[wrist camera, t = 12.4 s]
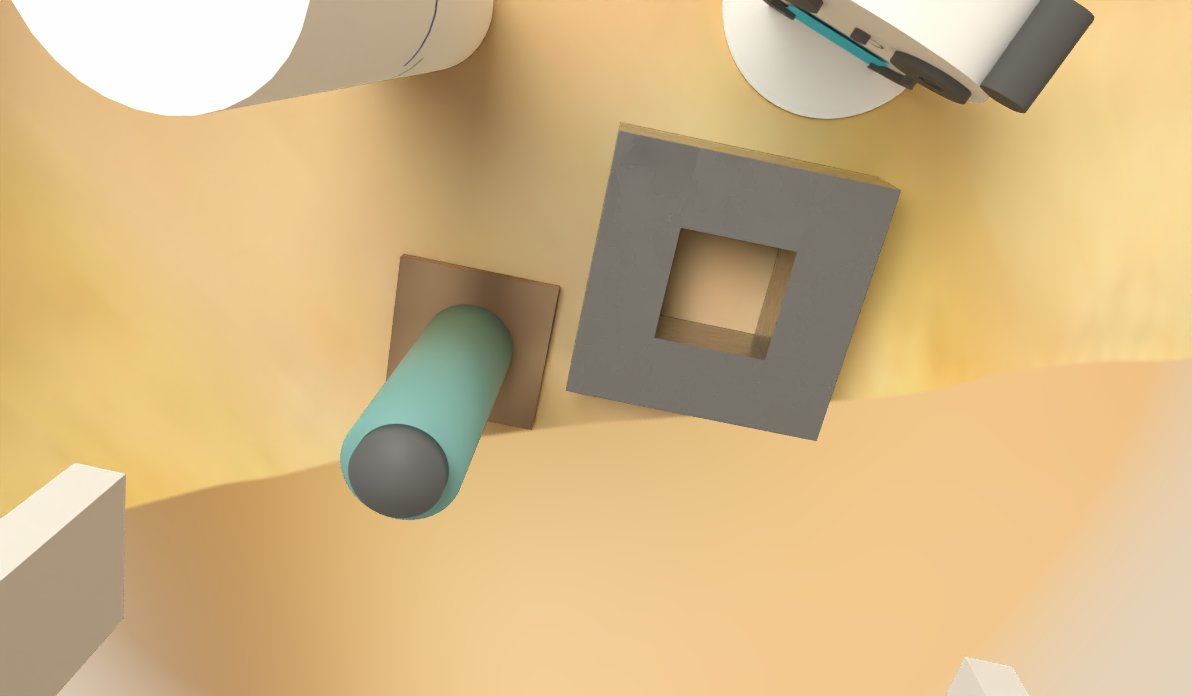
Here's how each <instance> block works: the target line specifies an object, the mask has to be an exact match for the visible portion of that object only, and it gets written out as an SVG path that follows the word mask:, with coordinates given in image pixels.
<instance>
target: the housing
mask: <svg viewBox="0 0 1192 696" xmlns="http://www.w3.org/2000/svg"><path fill="white" fill-rule="evenodd" d="M900 191H901V190H900V189H898V188H896V187H895V186H893V185H891V184H889V183H888V182H886V181H884V180H882V179H881V178H879V177H876V176H872V175H867V174H862V173H857V172H853V171H848V170H843V169H839V168H834V167H829V166H824V165H820V164H815V163H810V162H806V161H801V160H796V159H791V158H787V157H782V156H777V155H773V154H768V153H763V152H758V151H754V150H749V149H744V148H739V147H735V146H730V145H725V144H721V143H716V142H711V141H706V140H702V139H697V138H692V137H688V136H683V135H678V134H673V133H669V132H664V131H659V130H655V129H650V128H645V127H640V126H636V125H631V124H626V123H621V122H620V126H619V131H618V136H617V141H616V146H615V151H614V156H613V160H612V165H611V170H610V175H609V180H608V185H607V190H606V195H605V199H604V204H603V209H602V214H601V219H600V224H599V229H598V234H597V239H596V243H595V248H594V253H593V258H592V263H591V268H590V273H589V278H588V282H587V287H586V292H585V297H584V302H583V307H582V312H581V317H580V322H579V326H578V331H577V336H576V341H575V346H574V351H573V356H572V361H571V366H570V371H569V376H568V381H567V387H566V391H570V392H575V393H579V394H584V395H589V396H594V397H599V398H604V399H609V400H614V401H619V402H624V403H629V404H634V405H639V406H644V407H649V408H654V409H659V410H664V411H669V412H674V413H679V414H684V415H689V416H694V417H699V418H704V419H709V420H714V421H719V422H724V423H729V424H734V425H739V426H744V427H749V428H754V429H759V430H764V431H769V432H774V433H779V434H784V435H789V436H794V437H799V438H804V439H809V440H814V441H817V437H818V434H819V432H820V429H821V426H822V423H823V420H824V417H825V414H826V411H827V408H828V405H829V402H830V399H831V396H832V393H833V390H834V387H835V384H836V381H837V378H838V375H839V372H840V369H841V366H842V363H843V361H844V358H845V355H846V352H847V349H848V346H849V343H850V340H851V337H852V334H853V331H854V328H855V325H856V322H857V319H858V316H859V313H860V310H861V307H862V304H863V301H864V298H865V295H866V292H867V289H868V286H869V283H870V280H871V277H872V274H873V271H874V268H875V265H876V263H877V260H878V257H879V254H880V251H881V248H882V245H883V242H884V239H885V236H886V233H887V230H888V227H889V224H890V221H891V218H892V215H893V212H894V209H895V206H896V203H897V200H898V197H899V194H900ZM681 228H684V229H689V230H694V231H699V232H704V233H708V234H713V235H718V236H723V237H728V238H732V239H737V240H742V241H747V242H752V243H756V244H761V245H766V246H771V247H776V248H780V249H779V252H778V256H777V259H776V262H775V266H774V269H773V273H772V276H771V280H770V283H769V287H768V290H767V294H766V297H765V300H764V304H763V307H762V311H761V314H760V318H759V321H758V325H757V328H756V331H755V334H750V333H745V332H740V331H735V330H730V329H725V328H720V327H716V326H711V325H706V324H701V323H696V322H691V321H686V320H681V319H677V318H672V317H667V316H662V315H660V312H661V308H662V303H663V299H664V295H665V291H666V287H667V283H668V279H669V275H670V270H671V266H672V262H673V258H674V254H675V250H676V246H677V242H678V237H679V233H680V229H681Z"/></svg>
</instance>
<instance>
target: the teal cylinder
mask: <svg viewBox="0 0 1192 696" xmlns="http://www.w3.org/2000/svg"><path fill="white" fill-rule="evenodd" d="M512 355H513V344H512V339H511V336H510V333H509V331H508V329H507V328H506V326H505V325H504V323H503V322H502V321H501V320H500V319H499V318H498V317H497V316H496V315H495V314H493V313H492V312H490V311H488V310H487V309H484V308H482V307H479V306H475V305H468V304H462V305H455V306H451V307H449V308H446V309H444V310H442V311H441V312H439V313H438V314H437V315H436V316H435V317H434V318H433V319H432V320H431V322H430V323H429V324H428V326H427V327H426V328H425V330H424V331H423V332H422V334H421V335H420V336H419V338H418V339H417V341H416V342H415V343H414V345H413V346H412V347H411V349H410V350H409V351H408V353H407V354H406V355H405V357H404V358H403V360H402V361H401V362H400V364H399V365H398V366H397V368H396V369H395V370H394V372H393V373H392V374H391V376H390V377H389V378H388V380H387V381H386V383H385V384H384V385H383V387H382V388H381V389H380V391H379V392H378V393H377V395H376V396H375V397H374V399H373V400H372V402H371V403H370V404H369V406H368V407H367V408H366V410H365V411H364V412H363V414H362V415H361V416H360V418H359V419H358V421H357V422H356V423H355V425H354V426H353V427H352V429H351V430H350V431H349V433H348V434H347V436H346V438H345V440H344V442H343V445H342V449H341V455H340V462H341V469H342V473H343V476H344V479H345V481H346V483H347V485H348V487H349V488H350V490H351V491H352V492H353V494H354V495H355V496H356V497H357V498H358V499H359V500H360V501H361V502H362V503H364V504H365V505H366V506H367V507H369V508H370V509H372V510H374V511H376V512H378V513H380V514H382V515H385V516H387V517H392V518H395V519H402V520H415V519H421V518H426V517H429V516H432V515H434V514H436V513H438V512H440V511H442V510H443V509H445V508H446V507H447V506H448V505H449V504H450V503H451V502H452V501H453V499H454V498H455V497H456V495H457V494H458V492H459V490H460V487H461V484H462V482H463V480H464V477H465V474H466V472H467V469H468V467H469V465H470V462H471V460H472V457H473V455H474V452H475V450H476V447H477V445H478V442H479V440H480V437H481V435H482V432H483V430H484V427H485V425H486V422H487V420H488V417H489V415H490V412H491V410H492V407H493V405H494V403H495V400H496V398H497V395H498V393H499V390H500V388H501V385H502V383H503V380H504V378H505V375H506V373H507V370H508V368H509V365H510V363H511V360H512Z"/></svg>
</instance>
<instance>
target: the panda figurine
mask: <svg viewBox="0 0 1192 696" xmlns="http://www.w3.org/2000/svg"><path fill="white" fill-rule="evenodd" d="M722 19H723V27H724V33H725V37H726V40H727V44H728V47H729V50H730V52H731V55H732V57H733V59H734V61H735V63H736V65H737V67H738V69H739V70H740V72H741V73H742V75H743V76H744V78H745V79H746V80H747V81H748V82H749V84H750V85H751V86H752V87H753V88H754V89H755V90H756V91H757V92H758V93H759V94H761V95H762V96H763V97H764V98H766V99H767V100H768V101H770V102H772V103H773V104H775V105H776V106H778V107H780V108H782V109H784V110H787V111H789V112H792V113H794V114H798V115H801V116H806V117H811V118H821V119H835V118H843V117H849V116H854V115H858V114H861V113H864V112H867V111H870V110H872V109H874V108H877V107H879V106H881V105H883V104H884V103H886V102H888V101H890V100H891V99H893V98H894V97H896V96H897V95H899V94H900V93H901V92H903V91H904V90H905V89H906V88H908V89H913V87H914V86H915V84H916V83H917V82H918V83H919V84H921V85H923V86H924V87H926V88H928V89H930V90H931V91H933V92H935V93H937V94H939V95H941V96H943V97H945V98H947V99H949V100H951V101H954V102H956V103H959V104H965V103H966V102H967V100H968V101H972V102H984V101H986V100H987V99H988V97H989V96H990V97H991V98H993V99H994V100H996V101H997V102H999V103H1000V104H1002V105H1004V106H1006V107H1008V108H1009V109H1012V110H1014V111H1016V112H1020V113H1026V111H1027V110H1028V109H1029V107H1030V106H1031V105H1032V103H1033V102H1034V100H1035V99H1036V98H1037V96H1038V95H1039V94H1040V92H1041V91H1042V90H1043V88H1044V87H1045V86H1046V84H1047V83H1048V81H1049V80H1050V79H1051V77H1052V76H1053V75H1054V73H1055V72H1056V71H1057V69H1058V68H1059V67H1060V65H1061V64H1062V62H1063V61H1064V60H1065V58H1066V57H1067V56H1068V54H1069V53H1070V52H1071V50H1072V49H1073V48H1074V46H1075V45H1076V43H1077V42H1078V41H1079V39H1080V38H1081V37H1082V35H1083V34H1084V33H1085V31H1086V30H1087V28H1088V27H1089V26H1090V24H1091V23H1092V22H1093V20H1094V16H1093V14H1092V13H1091V12H1090V11H1088V10H1087V9H1086V8H1084V7H1083V6H1082V5H1080V4H1078V3H1077V2H1075V1H1074V0H722Z"/></svg>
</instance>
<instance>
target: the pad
mask: <svg viewBox="0 0 1192 696" xmlns="http://www.w3.org/2000/svg"><path fill="white" fill-rule="evenodd" d="M559 288H560V286H557V285H552V284H547V283H542V282H538V281H533V280H528V279H523V278H518V277H513V276H508V275H503V274H499V273H494V272H489V271H484V270H479V269H474V268H469V267H464V266H459V265H455V264H450V263H445V262H440V261H435V260H430V259H425V258H420V257H416V256H411V255H406V254H403V255H402V256H401V257H400V265H399V274H398V283H397V291H396V300H395V308H394V317H393V326H392V334H391V343H390V351H389V360H388V369H387V377H386V381H387V380H388V378H389V377H390V376H391V374H392V373H393V372H394V370H395V369H396V368H397V366H398V365H399V364H400V362H401V361H402V360H403V358H404V357H405V355H406V354H407V353H408V351H409V350H410V349H411V347H412V346H413V345H414V343H415V342H416V341H417V339H418V338H419V336H420V335H421V334H422V332H423V331H424V330H425V328H426V327H427V326H428V324H429V323H430V322H431V320H432V319H433V318H434V317H435V316H436V315H437V314H438V313H439V312H441V311H442V310H444V309H446V308H449V307H451V306H455V305H462V304H468V305H475V306H479V307H482V308H484V309H487V310H488V311H490V312H492V313H493V314H495V315H496V316H497V317H498V318H499V319H500V320H501V321H502V322H503V323H504V325H505V326H506V328H507V329H508V331H509V333H510V336H511V339H512V344H513V355H512V360H511V363H510V365H509V368H508V370H507V373H506V375H505V378H504V380H503V383H502V385H501V388H500V390H499V393H498V395H497V398H496V400H495V403H494V405H493V407H492V410H491V412H490V415H489V417H488V420H487V421H490V422H495V423H500V424H505V425H510V426H516V427H521V428H526V429H531V430H532V427H533V423H534V418H535V412H536V407H537V402H538V397H539V392H540V386H541V381H542V376H543V371H544V366H545V360H546V355H547V350H548V345H549V340H550V334H551V329H552V324H553V319H554V314H555V308H556V303H557V298H558V293H559Z"/></svg>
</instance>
